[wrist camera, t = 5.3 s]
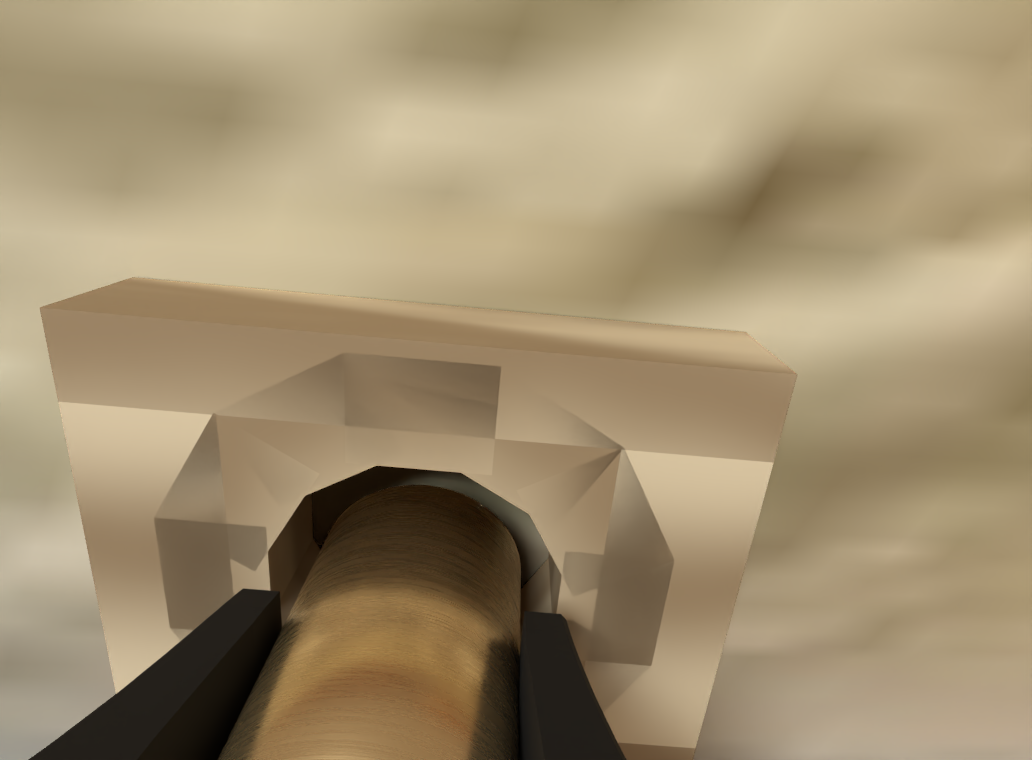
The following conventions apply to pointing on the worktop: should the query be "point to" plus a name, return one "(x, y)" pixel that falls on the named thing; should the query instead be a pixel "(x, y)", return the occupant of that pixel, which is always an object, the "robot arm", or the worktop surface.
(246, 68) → the worktop surface
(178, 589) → the jig
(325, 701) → the brass round peg
